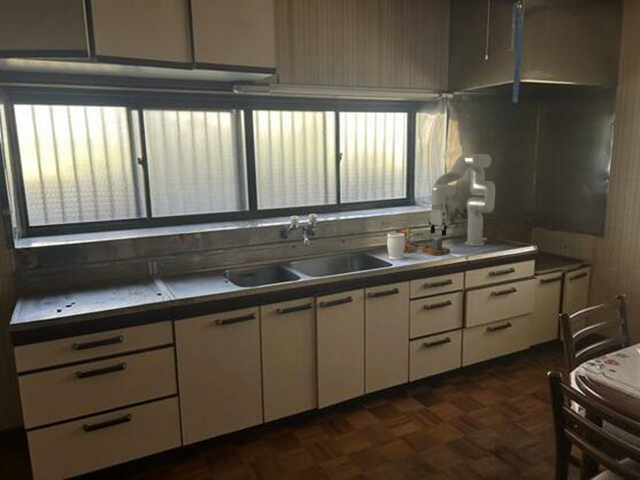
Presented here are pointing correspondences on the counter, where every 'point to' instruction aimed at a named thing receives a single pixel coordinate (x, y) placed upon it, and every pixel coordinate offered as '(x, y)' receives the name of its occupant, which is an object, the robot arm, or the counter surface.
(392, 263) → the counter surface
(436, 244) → the grey rectangular block
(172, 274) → the counter surface
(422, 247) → the socket block
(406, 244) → the candy box
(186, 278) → the counter surface
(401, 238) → the jar
